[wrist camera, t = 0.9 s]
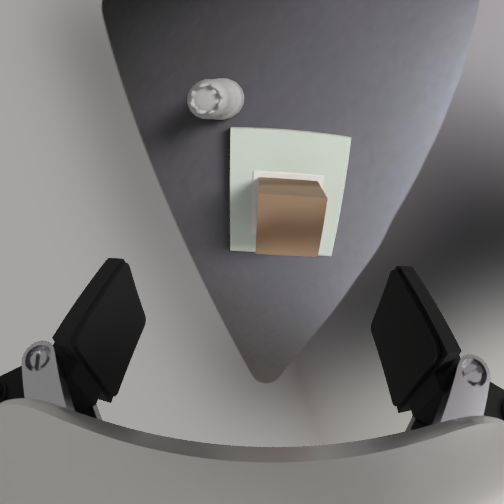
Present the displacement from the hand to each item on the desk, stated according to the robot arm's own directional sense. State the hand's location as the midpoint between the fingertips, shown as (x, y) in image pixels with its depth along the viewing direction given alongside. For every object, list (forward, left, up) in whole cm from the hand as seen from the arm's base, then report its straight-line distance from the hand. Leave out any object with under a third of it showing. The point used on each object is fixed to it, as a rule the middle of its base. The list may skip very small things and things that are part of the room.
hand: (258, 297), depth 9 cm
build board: (+4, +3, -21) cm, 21 cm away
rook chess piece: (-6, -4, -21) cm, 22 cm away
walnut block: (+5, +3, -20) cm, 21 cm away
